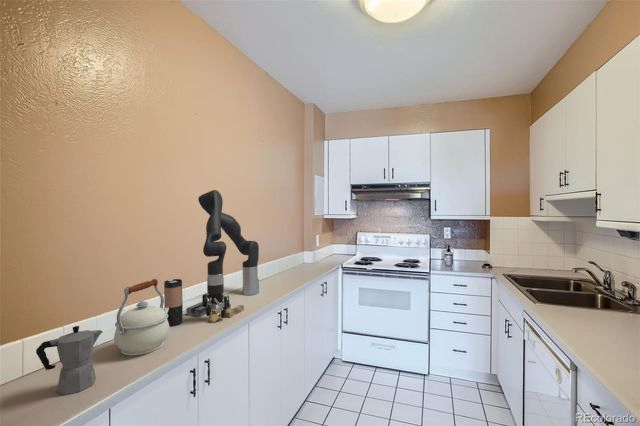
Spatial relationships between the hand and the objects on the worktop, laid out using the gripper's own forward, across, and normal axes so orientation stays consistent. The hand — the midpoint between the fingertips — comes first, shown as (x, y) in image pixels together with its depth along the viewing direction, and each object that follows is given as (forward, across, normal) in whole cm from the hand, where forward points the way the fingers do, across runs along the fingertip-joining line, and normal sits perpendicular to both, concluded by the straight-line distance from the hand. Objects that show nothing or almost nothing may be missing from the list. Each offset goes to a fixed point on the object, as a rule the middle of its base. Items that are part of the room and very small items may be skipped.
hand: (216, 316), depth 146 cm
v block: (+1, -14, +6) cm, 15 cm away
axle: (+1, 0, +1) cm, 1 cm away
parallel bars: (+1, 0, +9) cm, 9 cm away
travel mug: (+1, -15, -11) cm, 19 cm away
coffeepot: (+2, -4, -60) cm, 61 cm away
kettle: (+2, -7, -32) cm, 33 cm away
